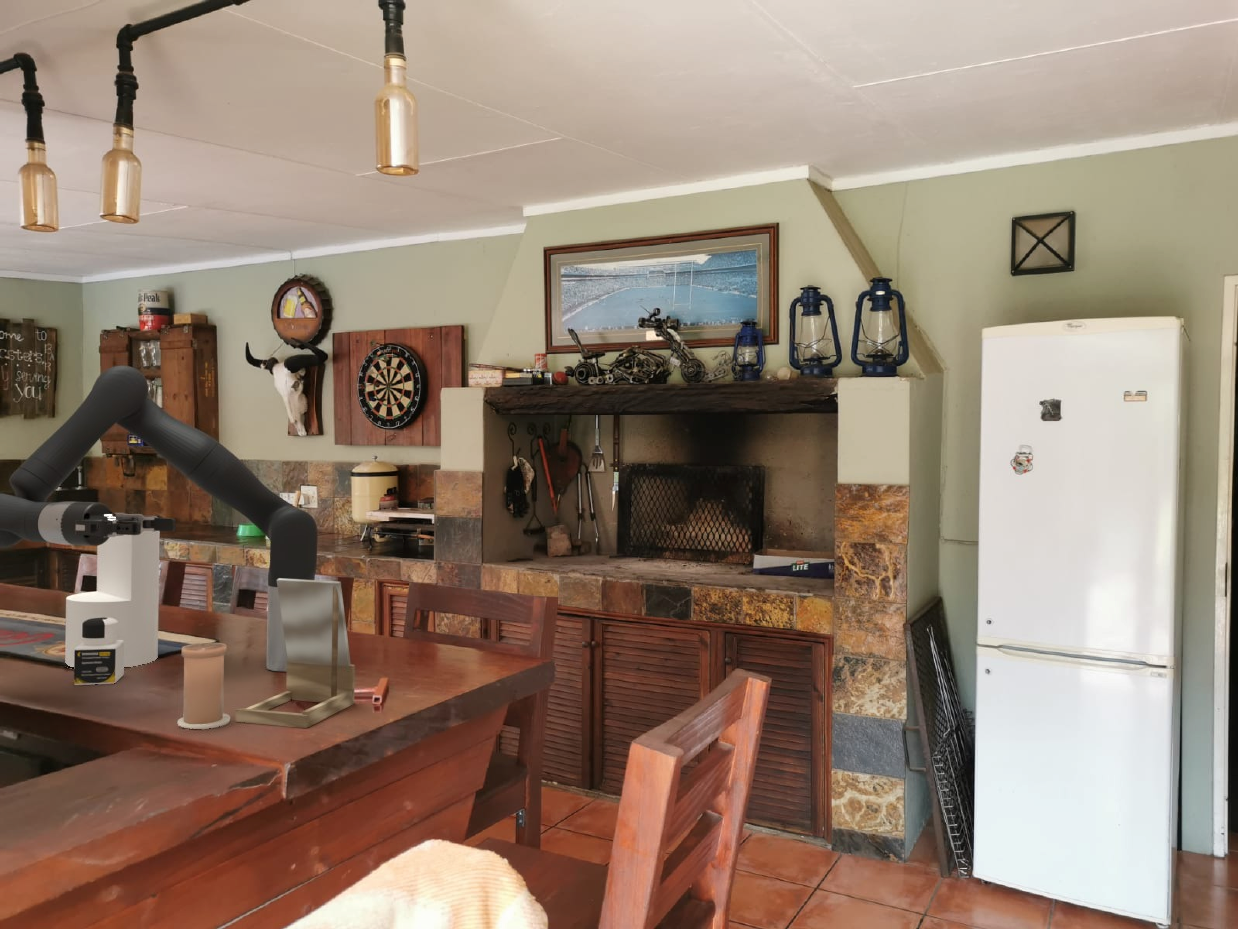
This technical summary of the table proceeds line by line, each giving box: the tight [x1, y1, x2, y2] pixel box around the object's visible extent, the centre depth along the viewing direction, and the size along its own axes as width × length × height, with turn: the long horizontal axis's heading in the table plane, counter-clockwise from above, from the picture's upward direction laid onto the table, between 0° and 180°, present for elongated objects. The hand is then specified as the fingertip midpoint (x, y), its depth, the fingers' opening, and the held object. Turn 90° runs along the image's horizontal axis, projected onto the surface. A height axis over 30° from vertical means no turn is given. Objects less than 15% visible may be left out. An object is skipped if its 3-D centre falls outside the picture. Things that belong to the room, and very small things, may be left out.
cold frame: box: [235, 578, 356, 729], centre depth 164 cm, size 16×13×23 cm
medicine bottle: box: [73, 618, 125, 686], centre depth 183 cm, size 7×7×12 cm
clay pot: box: [181, 642, 228, 724], centre depth 156 cm, size 7×7×12 cm
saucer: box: [176, 712, 231, 730], centre depth 156 cm, size 8×8×1 cm
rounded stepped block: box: [64, 531, 161, 668], centre depth 200 cm, size 17×17×28 cm
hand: (157, 526), depth 161 cm, fingers open, 8 cm apart
